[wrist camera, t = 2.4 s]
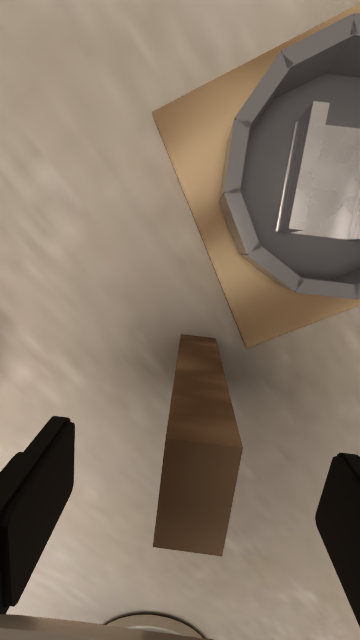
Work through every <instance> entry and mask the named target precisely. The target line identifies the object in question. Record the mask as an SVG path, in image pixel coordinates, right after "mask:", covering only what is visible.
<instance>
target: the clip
mask: <svg viewBox="0 0 360 640" xmlns="http://www.w3.org/2000/svg"><path fill="white" fill-rule="evenodd" d="M329 104H330V103H327V102H317V101H313V102H312V103H311V105H310V106H309V107H308V108H307V110H306V111H305V112H304V113H303V115H302V116H301V117H300V118H299V120H298V121H297V122H295V126H294V131H293V137H292V142H291V148H290V153H289V158H288V164H287V169H286V175H285V180H284V186H283V191H282V196H281V202H280V207H279V213H278V218H277V224H276V229H275V231H276V232H285V233H293V234H302V235H311V236H319V237H328V238H336V239H345V240H354V241H360V129H359V128H350V127H341V126H332V125H325V124H326V119H327V114H328V109H329Z"/></svg>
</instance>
